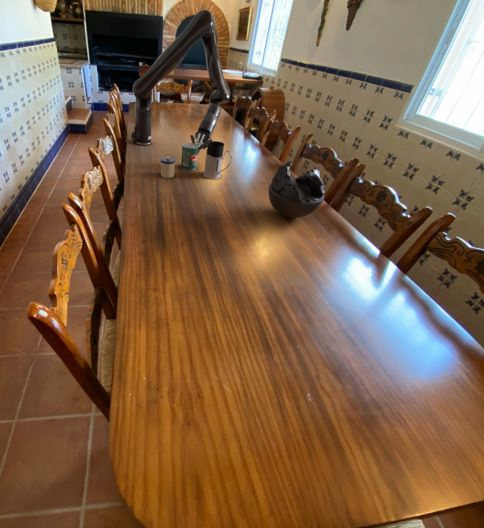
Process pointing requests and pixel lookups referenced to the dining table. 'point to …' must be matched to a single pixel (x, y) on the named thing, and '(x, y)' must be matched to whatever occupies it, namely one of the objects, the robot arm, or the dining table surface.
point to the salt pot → (167, 167)
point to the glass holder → (214, 160)
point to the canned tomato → (189, 156)
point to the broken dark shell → (296, 192)
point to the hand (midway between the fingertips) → (194, 154)
